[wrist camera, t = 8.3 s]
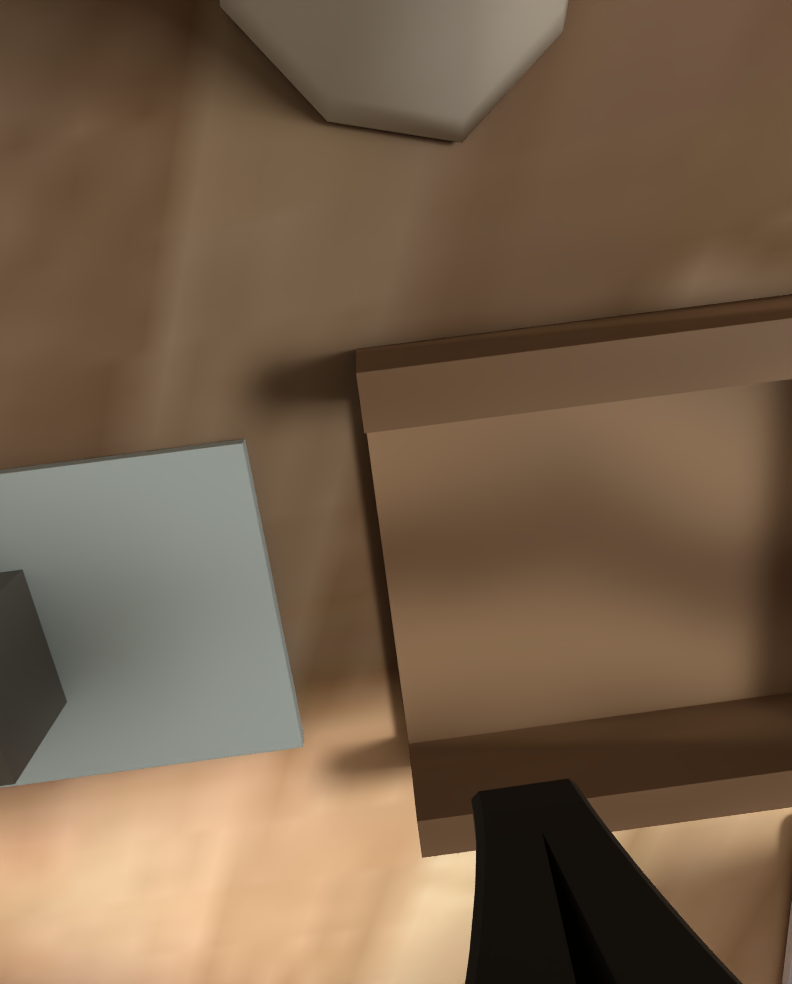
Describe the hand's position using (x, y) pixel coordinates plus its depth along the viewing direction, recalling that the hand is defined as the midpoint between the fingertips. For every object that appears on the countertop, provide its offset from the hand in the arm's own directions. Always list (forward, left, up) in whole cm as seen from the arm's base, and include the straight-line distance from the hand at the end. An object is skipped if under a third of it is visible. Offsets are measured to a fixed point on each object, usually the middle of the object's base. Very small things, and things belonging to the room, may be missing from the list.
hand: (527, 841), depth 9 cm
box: (-1, -4, -9) cm, 10 cm away
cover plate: (-1, +10, -10) cm, 14 cm away
